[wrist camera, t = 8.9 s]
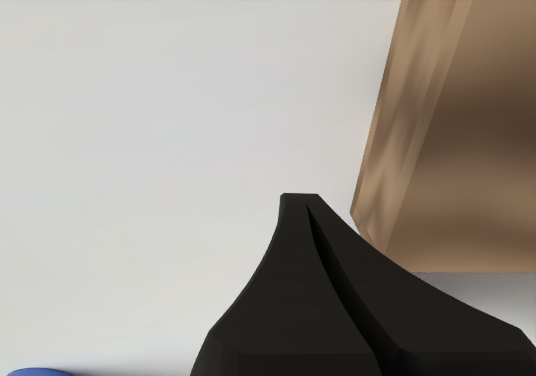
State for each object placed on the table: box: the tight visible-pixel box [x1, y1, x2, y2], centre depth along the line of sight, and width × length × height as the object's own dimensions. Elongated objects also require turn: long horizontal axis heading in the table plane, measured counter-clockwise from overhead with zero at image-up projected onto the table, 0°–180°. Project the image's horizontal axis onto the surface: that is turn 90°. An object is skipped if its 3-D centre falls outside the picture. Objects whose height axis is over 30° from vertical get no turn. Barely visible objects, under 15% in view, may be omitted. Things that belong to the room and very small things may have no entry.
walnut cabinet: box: [350, 0, 536, 273], centre depth 16 cm, size 18×10×6 cm, turn 177°
